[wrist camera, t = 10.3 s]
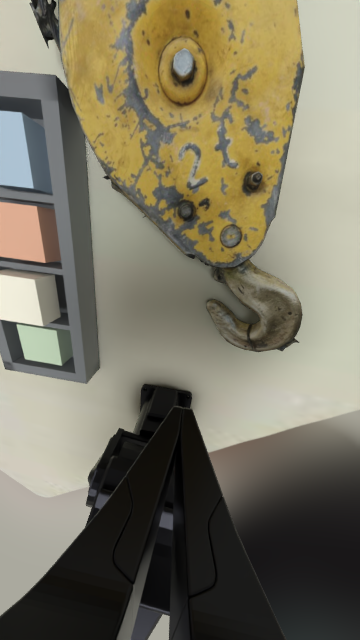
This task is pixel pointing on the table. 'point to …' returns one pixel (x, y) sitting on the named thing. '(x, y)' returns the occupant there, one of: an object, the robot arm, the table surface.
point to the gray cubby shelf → (72, 225)
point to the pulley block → (193, 129)
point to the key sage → (45, 343)
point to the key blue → (23, 154)
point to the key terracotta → (28, 233)
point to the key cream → (28, 297)
